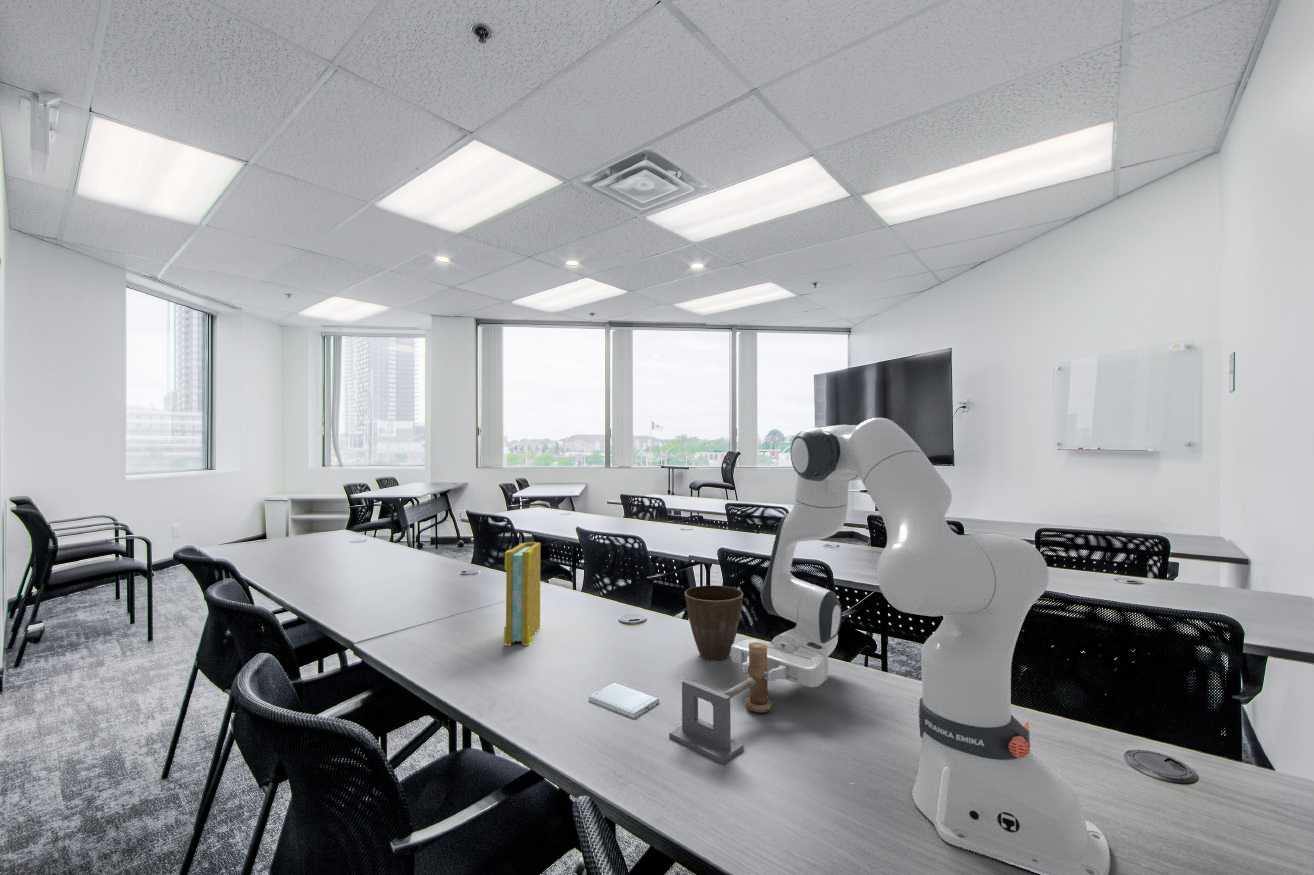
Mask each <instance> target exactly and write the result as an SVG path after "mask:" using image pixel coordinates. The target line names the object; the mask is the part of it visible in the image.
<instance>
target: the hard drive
mask: <svg viewBox="0 0 1314 875" xmlns="http://www.w3.org/2000/svg"><path fill="white" fill-rule="evenodd" d="M588 701H589V702H591V703H593V702H594V704H595V705H599V706H601V707H603V708H606V709H609V710H611V711H614V712H616V711H617V713H619V714H621V713H622V714H621V715H624V716H626V715H628V716H627V717H629V716H630V717H629V718H631V717H632V719H636V718H637V717H639V716H640V714H641V715H642V714H643V713H646V712H647V711H649V710H650V709H652V708H654V707H655V706H657V705H658V704H660V698H659V697H655V696H652V695H648V694H646V693H644V692H640V691H639V690H636V689H634V688H633V689H632V688H630V687H627V686H625V685H622V684H619V683H615V682H613V683H611V684H608V685H606V686H605V687H602V688H601V689H599V690H597V691H595V692H593V693H591V694H590V695H589V696H588ZM657 703H658V704H657ZM656 704H657V705H656ZM653 706H654V707H653ZM651 707H652V708H651ZM648 709H649V710H648ZM645 711H646V712H645ZM635 717H636V718H635Z"/></svg>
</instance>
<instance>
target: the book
mask: <svg viewBox="0 0 1314 875" xmlns="http://www.w3.org/2000/svg"><path fill="white" fill-rule="evenodd" d="M504 571H505V572H506V573H505V574H506V576H505V577H506V578H505V580H506V582H505V584H506V586H505V587H506V588H505V589H506V590H505V592H506V593H505V594H506V595H505V597H506V598H505V601H506V602H505V606H506V607H505V626H504V628H503V646H512V645H513V644H514V643H513V641H514V642H521V646H527V645H529V643H530V642H531V641H532V642H533V638H534V637H533V635H534V634H535V632H536V631H537V629H538V628H539V627H540V628H541V542H536V541H535V542H528V541H527V542H522V543H519V544H518V545H517V546H515V547H513V548H512V549H508V550H506V551H505V552H504ZM540 628H539V629H540ZM537 632H538V631H537ZM535 635H536V634H535ZM535 635H534V636H535ZM532 637H533V638H532ZM532 642H531V643H532ZM512 643H513V644H512ZM531 643H530V644H531ZM505 644H507V645H505ZM509 644H510V645H509ZM511 644H512V645H511ZM523 644H525V645H523ZM526 644H527V645H526ZM529 646H530V645H529Z"/></svg>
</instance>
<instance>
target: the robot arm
mask: <svg viewBox="0 0 1314 875" xmlns="http://www.w3.org/2000/svg"><path fill="white" fill-rule="evenodd" d="M790 460H791V465H792V467H793V469H794V471H795V472H796V473H797V479H796V483H795V491H794V492H795V495H794V504H793V505H792V509H791V510H790V512H786V514H784V515H783V516H782V517H781V519H780V521H779V522H778V523H779V524H778V526H777V530H776V533H775V537H774V541H773V547H772V550H771V555H770V559H769V564H768V569H767V572H766V576H765V579H764V580H763V583H762V586H761V591H760V599H761V603H762V605H763V607H764V610H765V611H766V612H767V613H769V614H770V615H772V616H773V615H774V616H777V617H780V618H784V619H786V620H788V621H791V622H793V623H796V625H795V627H794V628H791V629H788V630H786V631H784V632H782V633H780V634H778V635H776V636H775V637H773V639H772V640H771V642H766V641H762V640H759V639H754V638H747V639H744V640H740V641H737V642H734V643H733V644H732V646H731V652H730V658H731V662H732V663H735V664H739V665H741V666H742V673H746V674H748V675H749V644H750V643H753V642H760V643H764V644H766V645H767V669H766V670H764V679H765V680H767V682H768V681H769V682H772V681H774V680H786V681H789V682H792V683H796V684H798V685H802V686H805V687H807V688H817V687H819V686H821V685H822V684H823V683H824V682H825V681H827V680H828V678H829V656H830V655H831V654H832V653H833V651H834V650H835V648H836V647H837V644H838V641H839V640H838V639H839V632H840V630H841V624H842V620H843V608H842V605H841V603H840V600H839V598H838V597H837V594H836V593H835V592H834V591H832V590H829V589H827V588H824V587H821V586H819V585H817V584H813V583H811V582H808V581H805V580H802V579H799V578H796V577H795V576H794V575H793V574H792V572H791V568H792V564H793V560H794V555H795V551H796V548H797V547H796V546H797V544H798V543H799V542H806V541H807V542H808V541H811V542H812V541H820V540H824V539H826V538H830V537H832V536H834V535H835V534H837V533H838V532H839V531H840V530H841V529H842V528H843V527H844V525H845V522H846V519H847V515H848V514H847V513H848V505H849V504H848V502H849V484H850V481H858V480H860V481H861V482H862V484H863V486H864V488H865V489H866V491H867V493H868V495H869V496H870V498H871V500H872V502H873V503H874V506H875V507H876V509H877V511H878V512H879V514H880V516H881V518H882V521H883V524H884V526H885V530H886V537H887V538H886V539H887V540H886V545H885V547H884V549H883V550H882V552H881V554H880V555H879V558H878V559H877V560H878V561H877V564H876V579H877V583H878V586H879V587H878V588H879V589H880V591H881V593H882V595H883V597H884V599H886V600H887V602H888V603H889V604H890V605H891V606H892V607H893V608H895V609H896V610H898V611H900V612H902V613H908V614H913V615H920V616H926V617H927V616H928V617H941V616H943V619H942V620H941V622H940V624H939V625H938V628H937V629H936V630H935V631H934V632H933V633H932V634H931V635H930V636H929V637H928V638H927V639H926V641H925V642H924V644H923V645H922V649H921V688H922V690H921V692H922V693H921V694H922V695H921V696H922V697H920V699H919V706H918V728H919V736H920V738H921V746H920V757H919V763H918V770H917V773H916V778H915V782H914V785H913V787H912V791H911V793H912V799H913V801H914V804H915V805H916V807H917V809H919V811H920V812H921V813H922V814H923V815H924V816H925V817H926V818H927V819H928V820H929V821H930V822H931V823H932V824H933V825H934V827H935V829H936V831H937V832H938V835H939V836H940V838H941V839H942V840H943V841H944V842H946V843H947V844H949V845H952V846H956V847H958V848H961V847H962V848H961V849H964V850H966V849H967V851H969V850H971V851H970V852H972V851H975V852H978V853H980V854H979V855H981V854H985V855H988V856H990V857H994V858H998V859H1001V860H1005V861H1008V862H1012V863H1014V864H1017V865H1021V866H1024V867H1028V868H1031V869H1033V870H1036V871H1039V872H1042V873H1046V874H1049V875H1109V874H1110V870H1111V852H1110V848H1109V844H1108V841H1107V839H1106V837H1105V836H1104V834H1103V832H1102V831H1101V830H1100V829H1099V828H1098V827H1097V826H1096V825H1095V823H1092V822H1091V821H1088V819H1087V820H1086V817H1085V814H1084V810H1083V807H1082V803H1081V801H1080V798H1079V795H1078V794H1077V792H1076V790H1075V789H1074V787H1073V786H1072V785H1071V784H1070V783H1069V782H1068V781H1067V780H1065V778H1064V777H1062V776H1061V775H1059V773H1058V772H1056V771H1055V769H1053V768H1051V767H1050V766H1049V764H1047V763H1046V762H1045V761H1043V759H1041V757H1039V756H1038V754H1036V753H1035V752H1034V751H1033V750H1031V739H1030V724H1029V722H1028V721H1026V722H1025V724H1024V725H1023V724H1022V723H1021V722H1019V720H1017V718H1015V716H1014V715H1013V714H1012V702H1011V701H1012V700H1011V699H1012V698H1011V696H1012V694H1011V693H1012V692H1011V691H1012V690H1011V689H1012V686H1011V685H1012V684H1011V683H1012V680H1011V679H1012V662H1013V656H1014V651H1015V648H1016V643H1017V641H1018V637H1019V635H1020V634H1019V633H1020V631H1021V628H1022V626H1023V623H1024V621H1025V618H1026V616H1027V614H1028V612H1029V611H1030V609H1031V607H1032V606H1033V605H1034V604H1035V602H1036V601H1037V600H1039V598H1040V597H1041V596H1042V595H1043V594H1044V593H1045V591H1046V590H1047V587H1048V585H1049V575H1050V573H1049V569H1048V565H1047V562H1046V560H1045V558H1044V555H1043V554H1042V553H1041V552H1040V551H1039V549H1037V548H1036V547H1035V546H1034V545H1033V544H1032V543H1030V542H1028V541H1026V540H1024V539H1022V538H1018V537H1013V536H1010V535H1004V534H999V533H989V532H988V533H977V534H975V533H974V534H957V533H956V532H955V531H953V529H951V527H950V526H949V523H948V522H947V520H946V518H945V515H946V513H947V512H948V510H949V509H950V506H951V504H952V499H953V495H952V490H951V488H950V487H949V485H948V484H947V483H946V481H945V480H944V479H943V477H942V476H941V474H940V473H939V471H938V470H937V468H936V467H935V465H933V463H932V462H931V461H930V460H929V458H928V457H927V456H926V454H925V452H924V451H923V450H922V449H921V447H920V446H919V445H918V444H917V442H916V441H915V440H914V439H913V438H912V437H911V436H910V435H909V434H908V433H907V432H906V431H905V430H904V429H903V428H902V427H900V426H899V425H898V424H897V423H896V422H894V421H893V420H891V419H888V418H884V417H873V418H869V419H867V420H866V419H865V420H864V421H862V422H860V423H859V424H851V425H850V424H836V425H827V426H822V427H817V426H815V427H811V428H806V429H804V430H801V431H799V432H798V433H797V434H795V436H794V438H793V440H792V442H791V446H790ZM975 852H974V853H975ZM978 853H977V854H978Z"/></svg>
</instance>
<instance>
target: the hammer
mask: <svg viewBox="0 0 1314 875" xmlns="http://www.w3.org/2000/svg"><path fill="white" fill-rule="evenodd" d="M766 669H767V645H766V644H764V643H760V642H753V643H750V644H749V674H748V678H747V679H746V680H744V681H742V682H740V683H738V684H736V685H735V686H733V687H731V688H729V689H728V690H725V691H724V692H722V693H723V694H725V695H728V696H730V699H732V698H733V697H735V696H737V695H738V694H741V693H742V692H744V691H746V690H747V689H749V691H748V692H749V693H748V694H749V696H747V697H746V698H745V699H744V700H745V707H746V709H748V710H749V711H752V712H755V713H766V712H769V711H771V710H772V708H773V701H772V699H770V698H769V697H768V696H769V695H768V691H769V690H768V680H765V679H764V670H766ZM710 704H711V706H712V707H713V703H711V702H710Z"/></svg>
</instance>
